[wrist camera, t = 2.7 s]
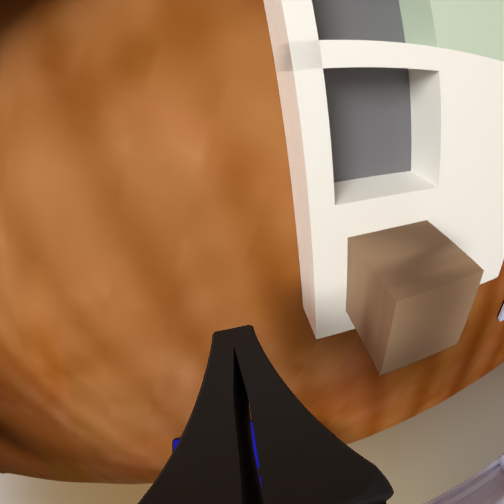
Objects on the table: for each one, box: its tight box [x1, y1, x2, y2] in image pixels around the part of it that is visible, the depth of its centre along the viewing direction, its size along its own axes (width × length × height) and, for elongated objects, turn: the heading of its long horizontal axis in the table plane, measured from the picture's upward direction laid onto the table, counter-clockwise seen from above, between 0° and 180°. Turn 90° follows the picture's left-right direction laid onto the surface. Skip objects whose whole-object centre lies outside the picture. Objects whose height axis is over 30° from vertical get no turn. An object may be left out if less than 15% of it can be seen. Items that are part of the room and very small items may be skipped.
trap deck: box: [263, 0, 504, 339], centre depth 11 cm, size 13×19×4 cm
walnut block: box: [346, 220, 484, 375], centre depth 12 cm, size 4×4×4 cm
